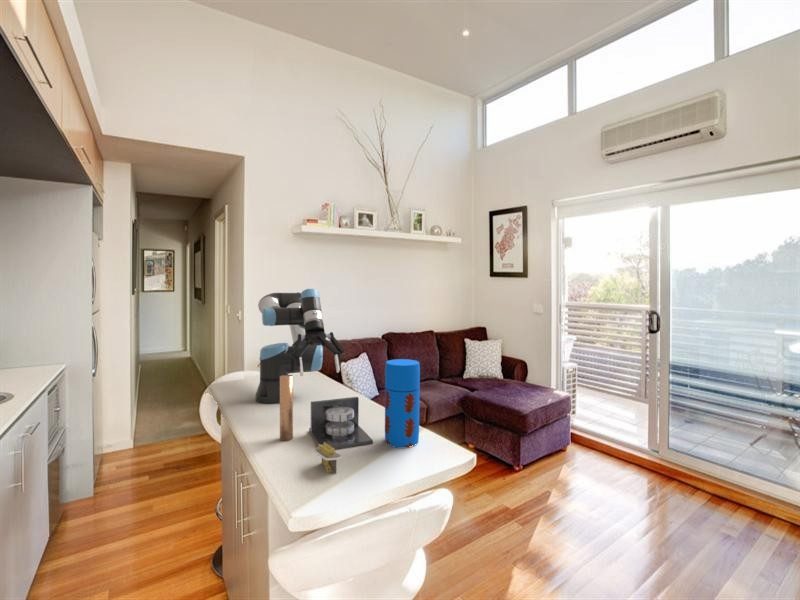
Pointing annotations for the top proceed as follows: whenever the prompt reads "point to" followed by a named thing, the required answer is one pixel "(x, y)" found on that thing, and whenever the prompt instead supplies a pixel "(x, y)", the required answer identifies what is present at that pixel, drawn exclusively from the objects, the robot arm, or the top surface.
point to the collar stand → (337, 423)
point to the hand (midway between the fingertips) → (320, 373)
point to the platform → (328, 456)
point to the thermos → (402, 402)
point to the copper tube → (286, 407)
